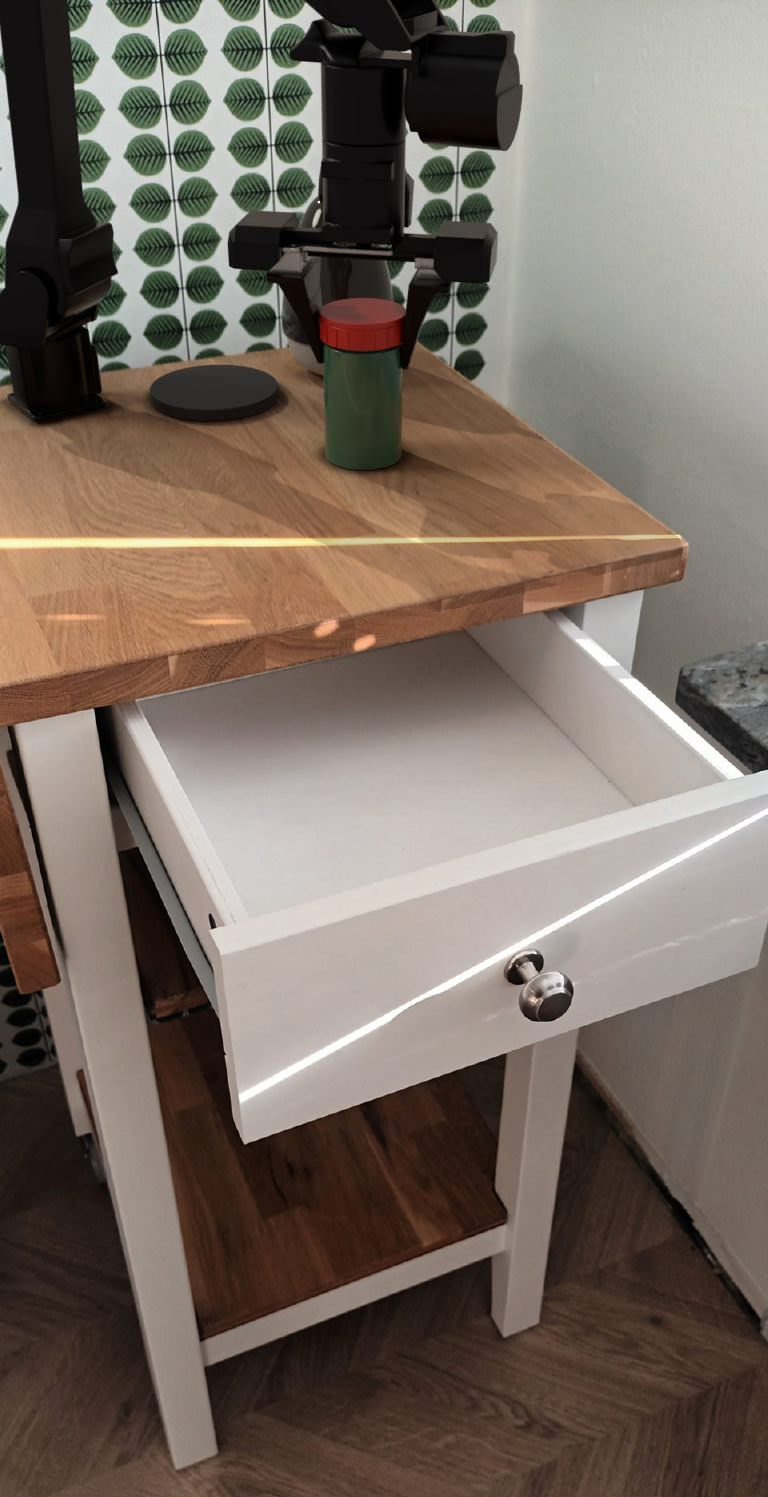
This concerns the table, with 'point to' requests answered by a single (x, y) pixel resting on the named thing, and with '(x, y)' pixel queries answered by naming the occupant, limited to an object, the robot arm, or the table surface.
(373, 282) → the pump dispenser
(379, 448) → the jar
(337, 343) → the lid
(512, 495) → the table surface
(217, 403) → the coaster
